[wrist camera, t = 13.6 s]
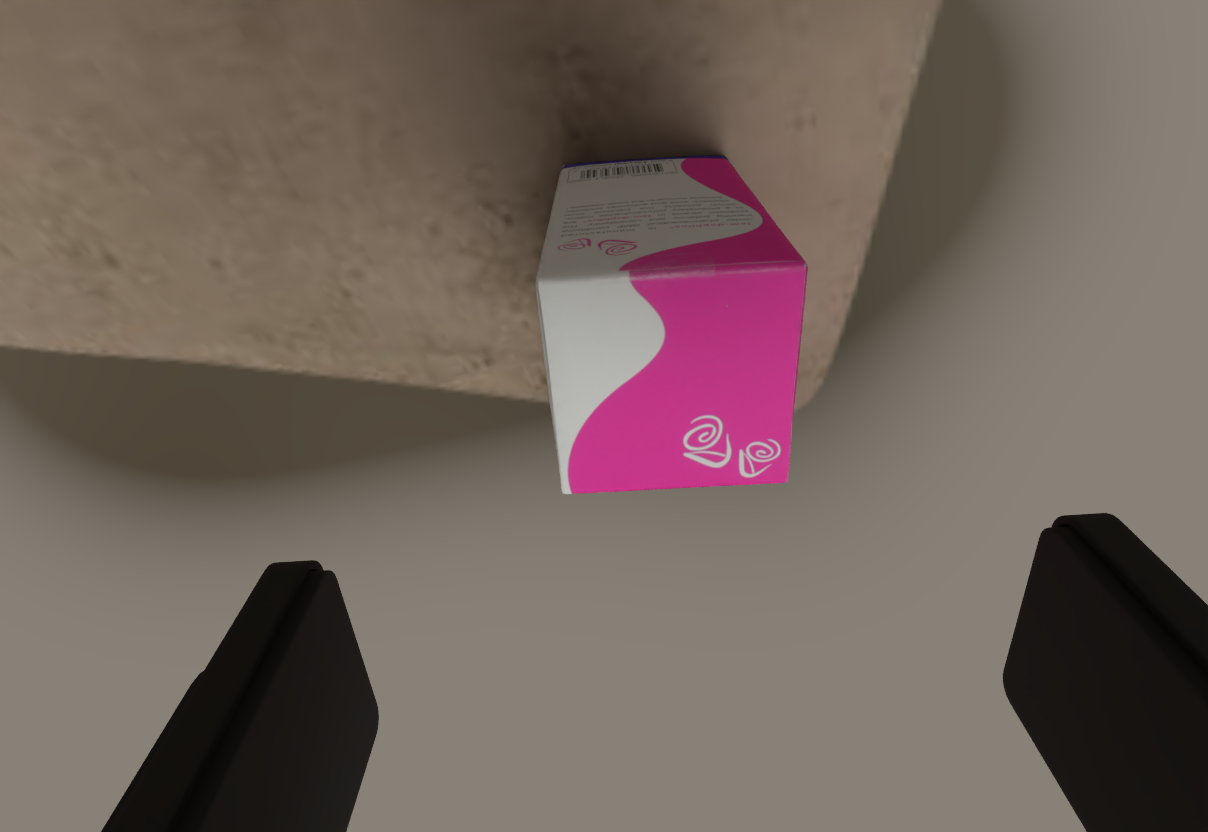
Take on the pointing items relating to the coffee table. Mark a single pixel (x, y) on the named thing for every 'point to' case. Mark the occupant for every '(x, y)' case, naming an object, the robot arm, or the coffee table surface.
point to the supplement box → (668, 327)
